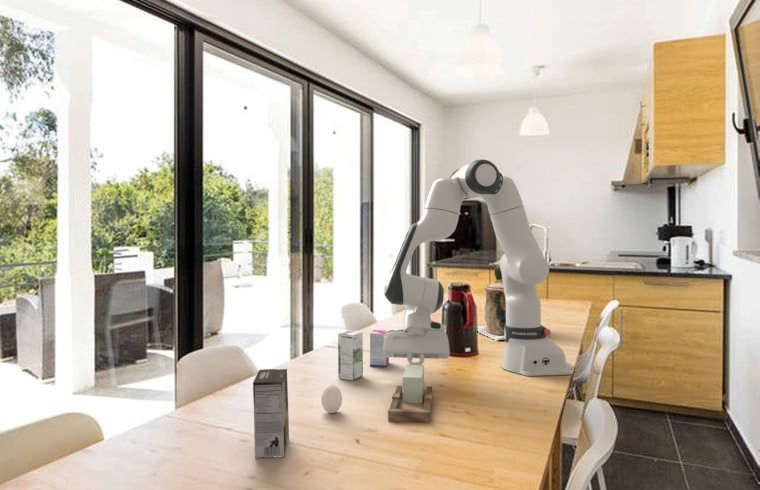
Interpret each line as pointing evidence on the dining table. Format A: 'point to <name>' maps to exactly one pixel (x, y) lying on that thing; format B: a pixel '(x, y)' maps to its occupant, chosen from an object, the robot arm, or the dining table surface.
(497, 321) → the cookie jar
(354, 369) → the syrup box
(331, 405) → the egg
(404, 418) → the slot track
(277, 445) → the coffee box
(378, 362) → the supplement box
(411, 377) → the block
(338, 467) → the dining table surface
